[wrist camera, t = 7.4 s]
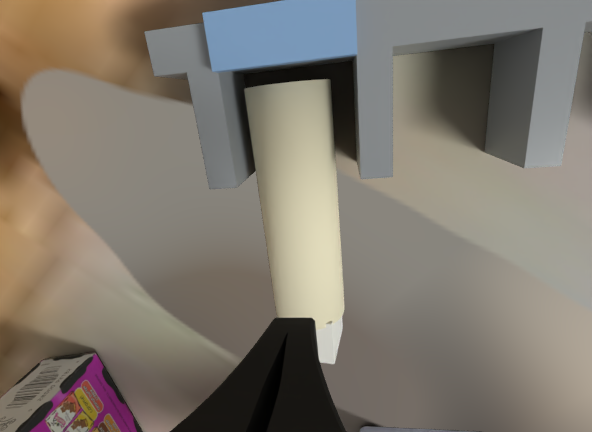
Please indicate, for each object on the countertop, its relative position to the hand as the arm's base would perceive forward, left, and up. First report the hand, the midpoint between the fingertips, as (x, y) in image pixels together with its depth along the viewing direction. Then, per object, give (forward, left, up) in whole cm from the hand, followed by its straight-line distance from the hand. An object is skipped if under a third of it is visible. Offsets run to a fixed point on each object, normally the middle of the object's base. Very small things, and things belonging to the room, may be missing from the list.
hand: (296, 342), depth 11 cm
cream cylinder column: (+2, 0, -7) cm, 8 cm away
